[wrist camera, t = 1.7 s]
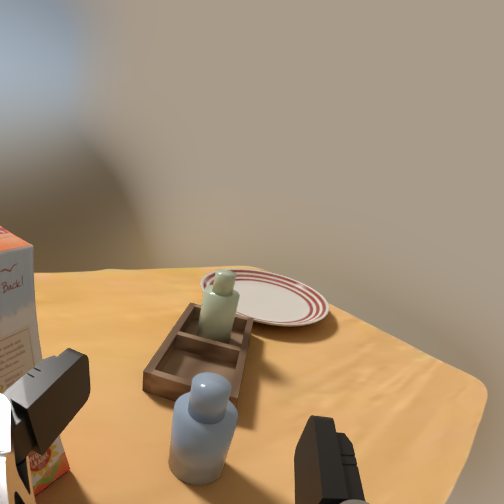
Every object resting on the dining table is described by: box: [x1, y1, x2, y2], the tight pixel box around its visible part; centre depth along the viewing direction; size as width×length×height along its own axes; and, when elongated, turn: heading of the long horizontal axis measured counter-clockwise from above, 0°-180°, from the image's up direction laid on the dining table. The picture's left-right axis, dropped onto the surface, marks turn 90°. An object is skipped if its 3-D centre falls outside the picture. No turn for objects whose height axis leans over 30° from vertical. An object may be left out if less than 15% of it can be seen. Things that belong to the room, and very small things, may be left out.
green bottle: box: [196, 269, 240, 344], centre depth 47 cm, size 5×5×11 cm
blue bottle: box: [169, 372, 238, 485], centre depth 24 cm, size 5×5×11 cm
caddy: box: [143, 303, 254, 407], centre depth 43 cm, size 11×21×3 cm, turn 175°
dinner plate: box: [201, 268, 329, 326], centre depth 67 cm, size 28×27×3 cm
